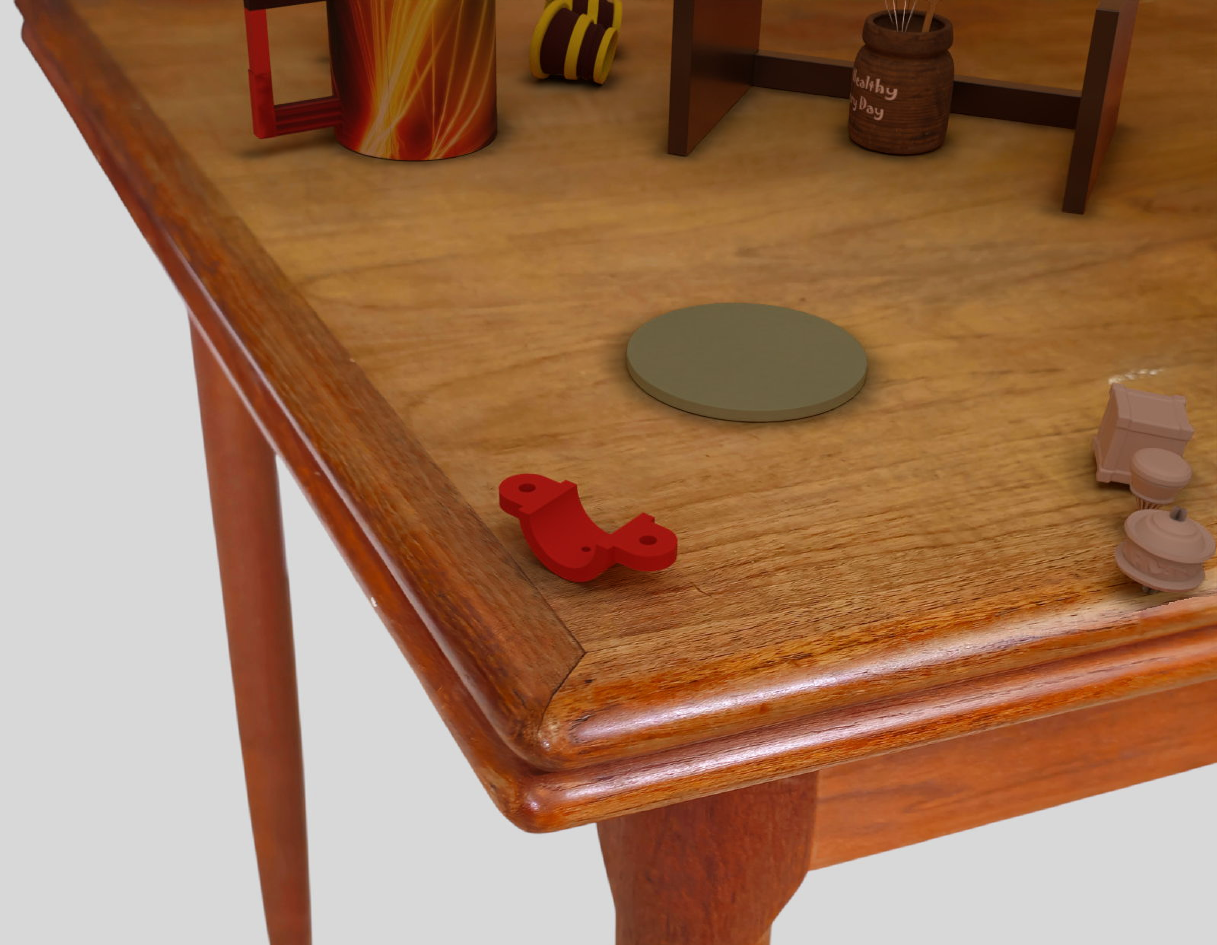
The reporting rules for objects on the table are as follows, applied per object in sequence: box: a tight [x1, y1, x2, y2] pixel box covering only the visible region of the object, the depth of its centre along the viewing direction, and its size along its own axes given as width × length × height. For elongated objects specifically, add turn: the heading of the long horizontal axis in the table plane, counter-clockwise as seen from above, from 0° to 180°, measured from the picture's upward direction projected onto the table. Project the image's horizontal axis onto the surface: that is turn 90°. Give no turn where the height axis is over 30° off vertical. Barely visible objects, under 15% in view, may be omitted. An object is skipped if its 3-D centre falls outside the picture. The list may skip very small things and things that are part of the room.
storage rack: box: [666, 0, 1140, 215], centre depth 105 cm, size 15×24×11 cm, turn 70°
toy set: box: [1090, 382, 1217, 595], centre depth 71 cm, size 12×3×4 cm, turn 172°
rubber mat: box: [625, 302, 868, 423], centre depth 83 cm, size 11×11×1 cm
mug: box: [243, 0, 498, 161], centre depth 103 cm, size 10×14×12 cm
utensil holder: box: [847, 0, 955, 155], centre depth 105 cm, size 6×6×12 cm
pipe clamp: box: [498, 472, 679, 583], centre depth 68 cm, size 8×3×2 cm, turn 51°
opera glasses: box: [528, 0, 623, 85], centre depth 117 cm, size 10×5×5 cm, turn 176°
